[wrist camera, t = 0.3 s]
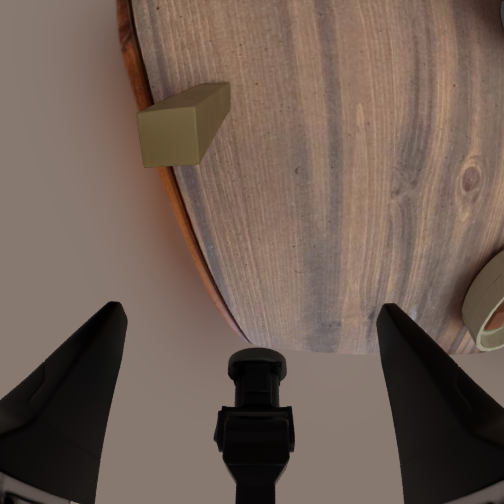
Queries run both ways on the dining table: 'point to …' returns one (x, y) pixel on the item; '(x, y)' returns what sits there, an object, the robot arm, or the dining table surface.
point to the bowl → (485, 304)
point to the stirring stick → (183, 125)
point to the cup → (502, 12)
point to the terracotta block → (496, 318)
